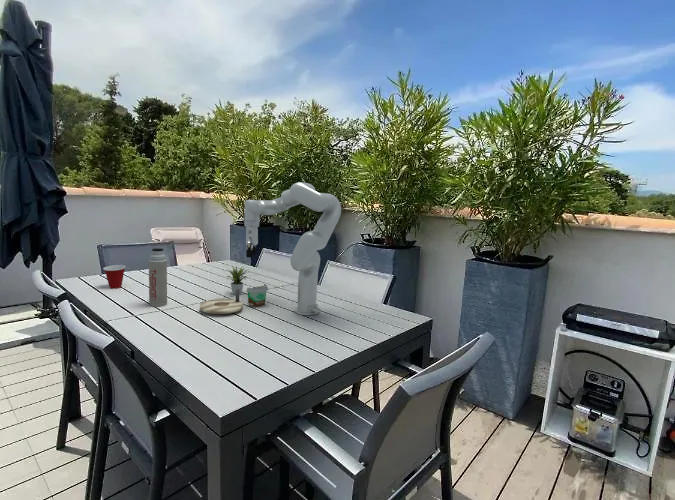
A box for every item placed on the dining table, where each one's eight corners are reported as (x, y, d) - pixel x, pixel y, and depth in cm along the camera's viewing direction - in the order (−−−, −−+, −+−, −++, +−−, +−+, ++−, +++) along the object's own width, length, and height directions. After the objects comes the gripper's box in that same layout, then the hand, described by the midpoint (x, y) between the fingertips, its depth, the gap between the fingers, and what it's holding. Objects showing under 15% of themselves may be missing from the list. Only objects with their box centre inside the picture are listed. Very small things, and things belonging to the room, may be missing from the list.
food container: (254, 309, 180) (254, 289, 179) (246, 306, 184) (246, 287, 183) (272, 304, 190) (273, 286, 189) (264, 302, 194) (265, 283, 193)
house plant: (246, 298, 198) (246, 269, 196) (220, 296, 199) (221, 267, 196) (252, 291, 213) (253, 264, 210) (229, 290, 213) (229, 263, 210)
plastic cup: (99, 288, 202) (98, 267, 200) (115, 284, 212) (115, 264, 210) (114, 290, 198) (113, 269, 197) (130, 286, 209) (130, 266, 207)
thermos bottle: (156, 307, 174) (155, 250, 170) (145, 304, 178) (144, 248, 174) (170, 304, 181) (170, 248, 177) (160, 301, 185) (159, 247, 181)
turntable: (250, 311, 177) (251, 293, 175) (212, 319, 162) (212, 300, 161) (229, 301, 190) (230, 285, 189) (192, 308, 176) (192, 290, 175)
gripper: (256, 225, 181) (255, 258, 184) (261, 222, 198) (260, 253, 201) (241, 224, 181) (240, 258, 183) (247, 222, 198) (247, 253, 200)
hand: (251, 255), depth 192 cm, fingers open, 9 cm apart
